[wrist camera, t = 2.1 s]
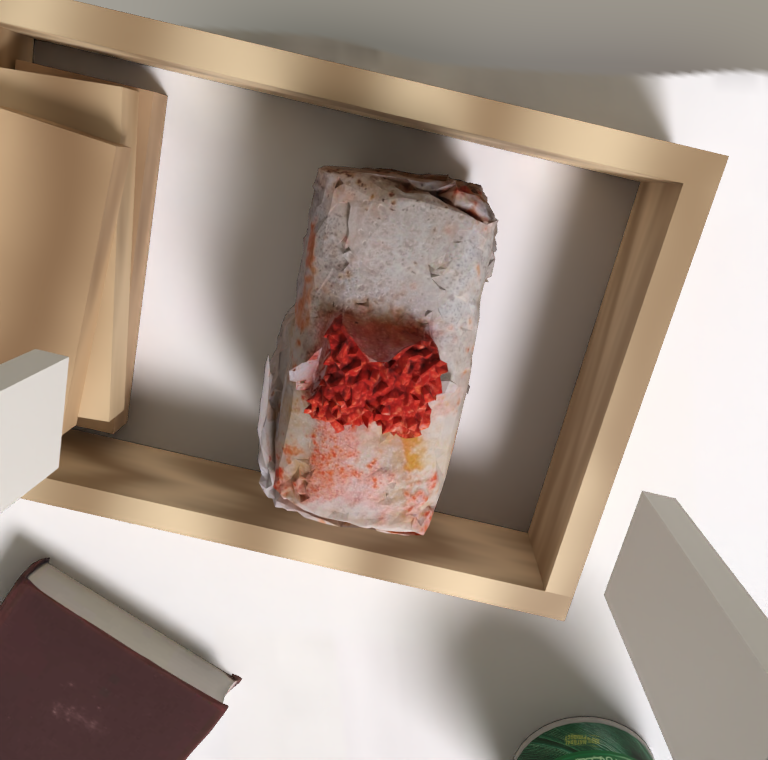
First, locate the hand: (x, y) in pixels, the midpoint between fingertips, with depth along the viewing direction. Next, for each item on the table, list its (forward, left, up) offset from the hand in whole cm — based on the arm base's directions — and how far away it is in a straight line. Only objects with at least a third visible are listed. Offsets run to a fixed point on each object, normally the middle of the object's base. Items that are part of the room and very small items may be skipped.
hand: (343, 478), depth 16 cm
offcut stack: (-14, 0, -17) cm, 22 cm away
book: (-13, -27, -17) cm, 35 cm away
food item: (0, 0, -17) cm, 17 cm away
